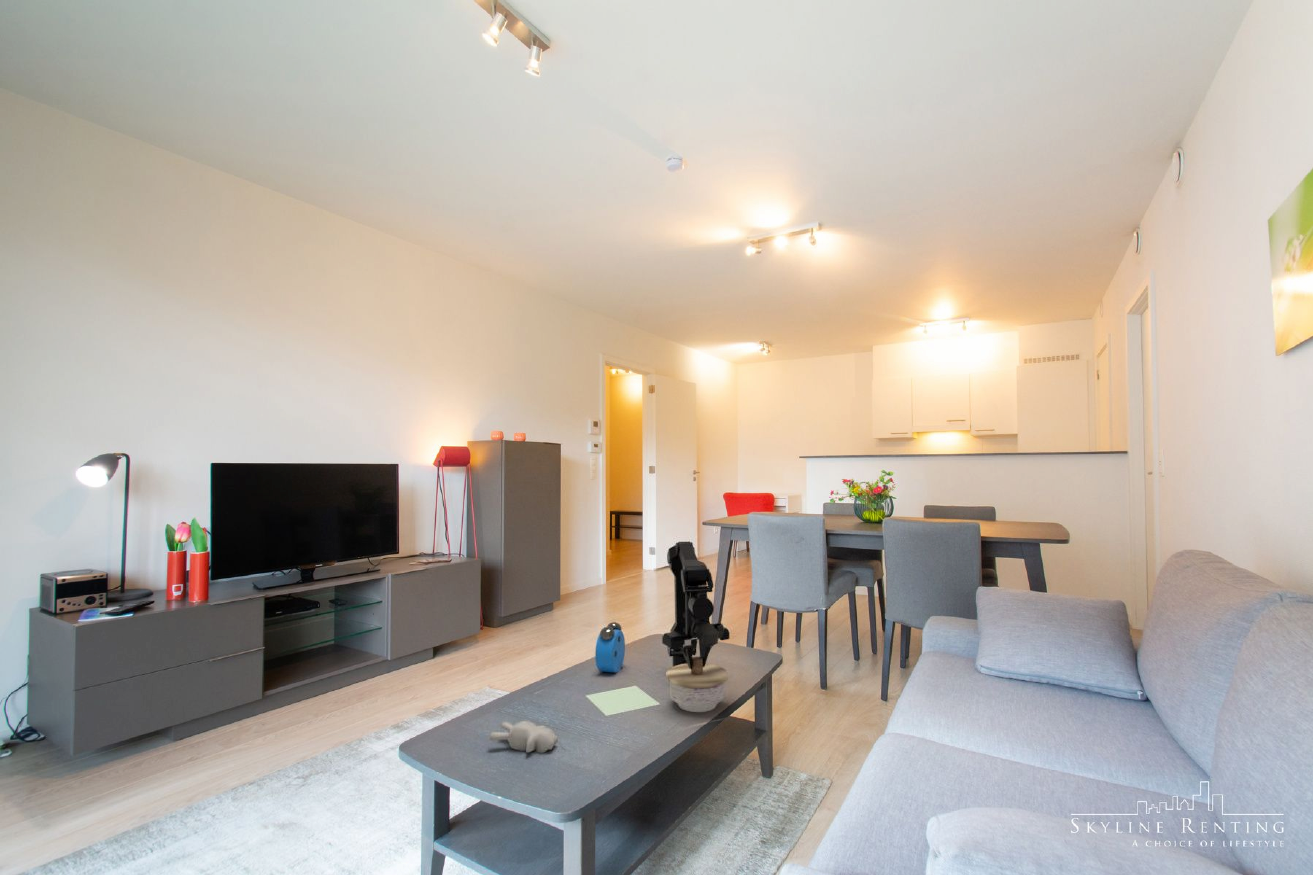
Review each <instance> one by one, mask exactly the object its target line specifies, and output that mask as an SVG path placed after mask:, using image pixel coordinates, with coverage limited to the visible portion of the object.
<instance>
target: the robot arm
mask: <svg viewBox="0 0 1313 875" xmlns="http://www.w3.org/2000/svg"><path fill="white" fill-rule="evenodd" d="M666 559H667V560H666V561H667V564H668V568H669V570H670V571H671V573H672V574H673V578H674V579H673V580H674V581H673V582H674V583H673V584H674V588H673V589H674V623H673V625H672V627H671V629H670V630H669V632H664V633H663V635H662V637H661V638H662V640H661V641H662V642H661V643H662V645H664V646H666V648H667V655H668V656H669V657H672V658H671V659H672V667H674V666H677V665H681V664H688V667H689V669H692V666H693V661H692V657H693V656H696V654H697V647H698V648H699V657H702V658H703V667H705V664H707V660H708V657H709V655H710V652H711V651H712V650H711V649H712V648H713V647H714V646H715V645H718V643H719V641H718V639H719V640H720V641H726V640H730V634H731V633H730V630H729V629H728V628H727V627H725V626H724V624H723V623H722V622H717V623H711V621H710V618H711V616H712V615H713V613H714V612H715V611H714V607H715V606H714V604H713V601H711V599H710V598H708V593H713V588H714V580H713V577H712V573H711V571H710V569H709V568H708V566H707V565H706V564H705V562H704V561H701V560H699V559H698V557H697V554H696V550H695V547H694V544H693V542H692V541H678V542H676V543H675V544H674V545H673V546H671V547H669V548H668V550H667V555H666Z"/></svg>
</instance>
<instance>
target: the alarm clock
mask: <svg viewBox="0 0 1313 875" xmlns="http://www.w3.org/2000/svg"><path fill="white" fill-rule="evenodd" d="M625 653H626V641H625V635H624V633H623V631H622V626H621V624H620V623H618V622H616V621H612V622H610V623H608V624H607V626H605V627H603V628H602V629H601V630H600V632H599V634H598V636H597V640H596V644H595V652H594V655H595V656H594V658H595V666H596V667H597V670H598V671H600V674H602V673H619V671H621V669H622V668H623V667H622V666H623V664H624V660H625Z"/></svg>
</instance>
